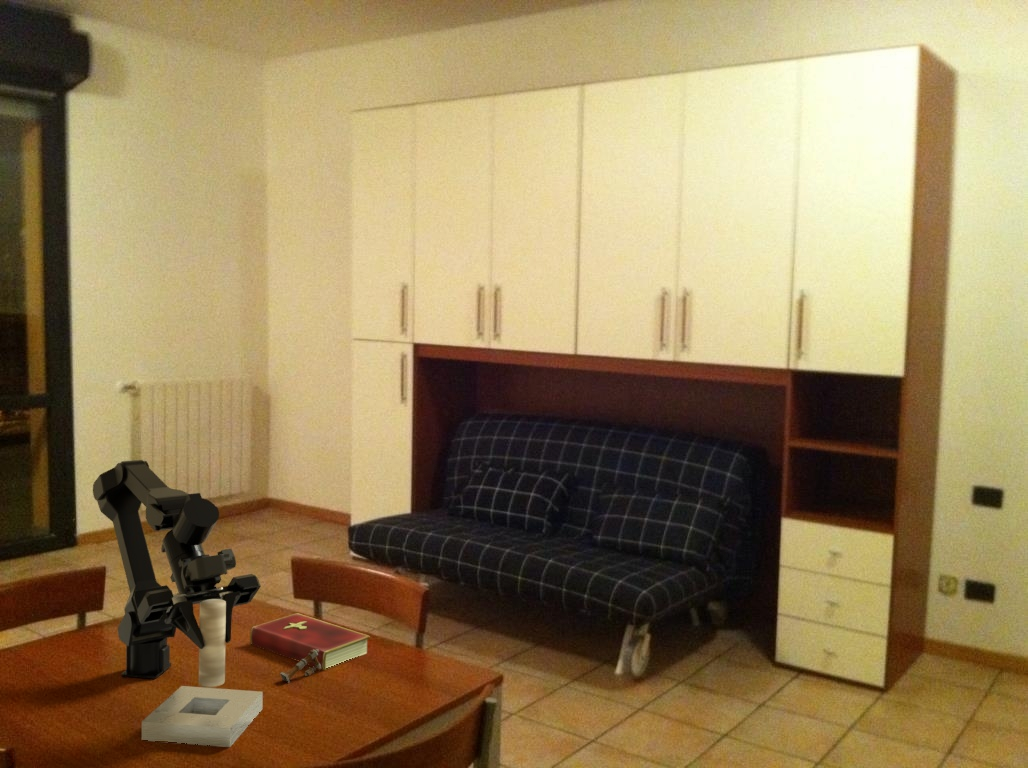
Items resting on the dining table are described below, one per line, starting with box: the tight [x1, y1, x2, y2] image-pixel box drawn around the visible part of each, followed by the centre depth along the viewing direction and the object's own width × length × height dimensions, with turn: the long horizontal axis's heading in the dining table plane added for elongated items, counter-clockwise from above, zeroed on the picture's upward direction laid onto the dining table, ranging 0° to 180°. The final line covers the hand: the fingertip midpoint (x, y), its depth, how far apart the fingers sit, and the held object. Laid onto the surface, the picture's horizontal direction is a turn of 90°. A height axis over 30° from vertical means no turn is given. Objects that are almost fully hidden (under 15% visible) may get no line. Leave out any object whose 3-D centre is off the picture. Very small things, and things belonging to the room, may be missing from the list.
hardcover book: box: [249, 612, 371, 671], centre depth 187 cm, size 12×21×4 cm, turn 54°
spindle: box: [198, 599, 226, 688], centre depth 152 cm, size 4×4×13 cm
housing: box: [141, 685, 264, 748], centre depth 153 cm, size 14×14×3 cm
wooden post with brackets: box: [279, 649, 322, 684], centre depth 174 cm, size 2×8×4 cm, turn 136°
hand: (215, 644), depth 151 cm, fingers closed on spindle, 4 cm apart
